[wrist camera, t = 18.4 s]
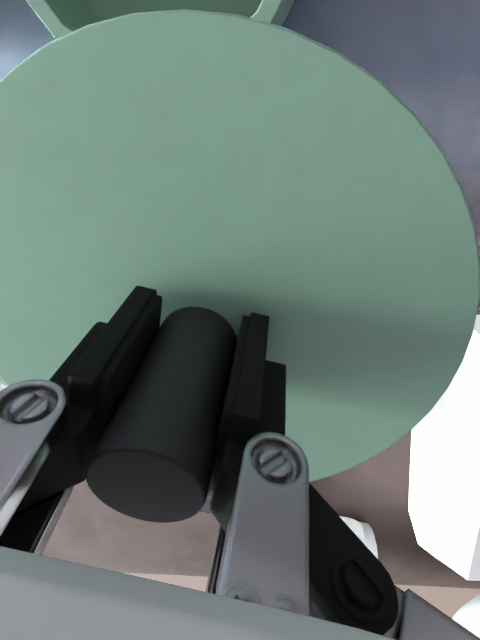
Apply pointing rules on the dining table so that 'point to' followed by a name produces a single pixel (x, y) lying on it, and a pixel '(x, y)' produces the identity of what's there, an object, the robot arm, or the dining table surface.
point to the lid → (229, 240)
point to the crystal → (450, 471)
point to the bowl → (147, 10)
